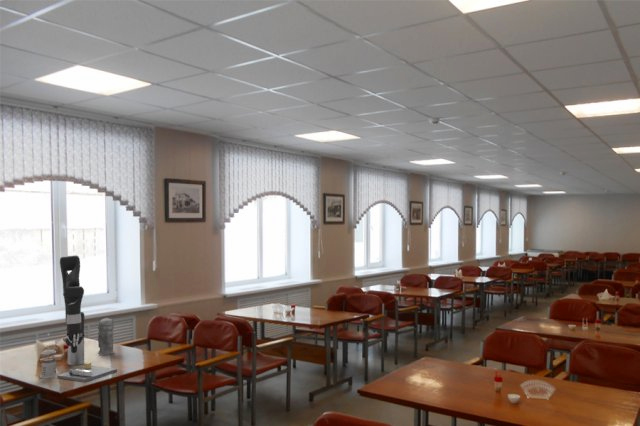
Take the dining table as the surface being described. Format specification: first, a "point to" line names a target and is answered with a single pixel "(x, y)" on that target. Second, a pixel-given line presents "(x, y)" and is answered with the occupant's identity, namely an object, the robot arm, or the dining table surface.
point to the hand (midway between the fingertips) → (74, 352)
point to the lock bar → (80, 372)
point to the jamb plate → (96, 373)
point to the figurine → (105, 337)
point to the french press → (48, 364)
